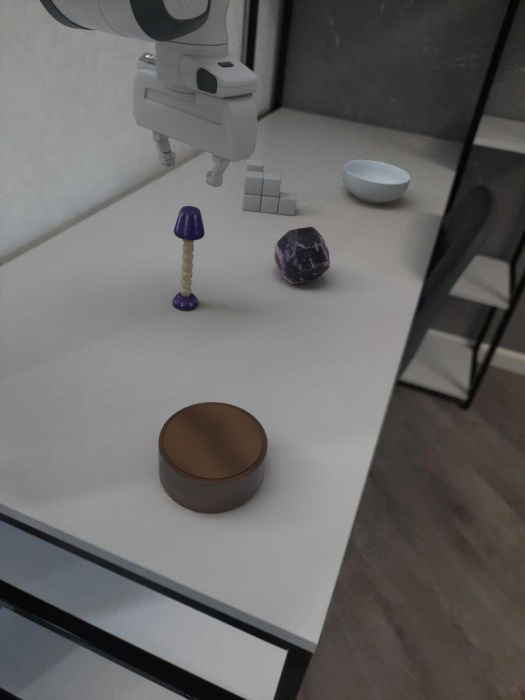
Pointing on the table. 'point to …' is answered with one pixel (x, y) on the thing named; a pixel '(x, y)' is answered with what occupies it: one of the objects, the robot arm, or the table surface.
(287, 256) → the mineral specimen
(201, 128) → the robot arm
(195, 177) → the table surface
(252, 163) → the grey stepped block
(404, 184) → the cereal bowl
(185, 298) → the toy lamp
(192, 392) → the table surface
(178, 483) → the wooden drum
